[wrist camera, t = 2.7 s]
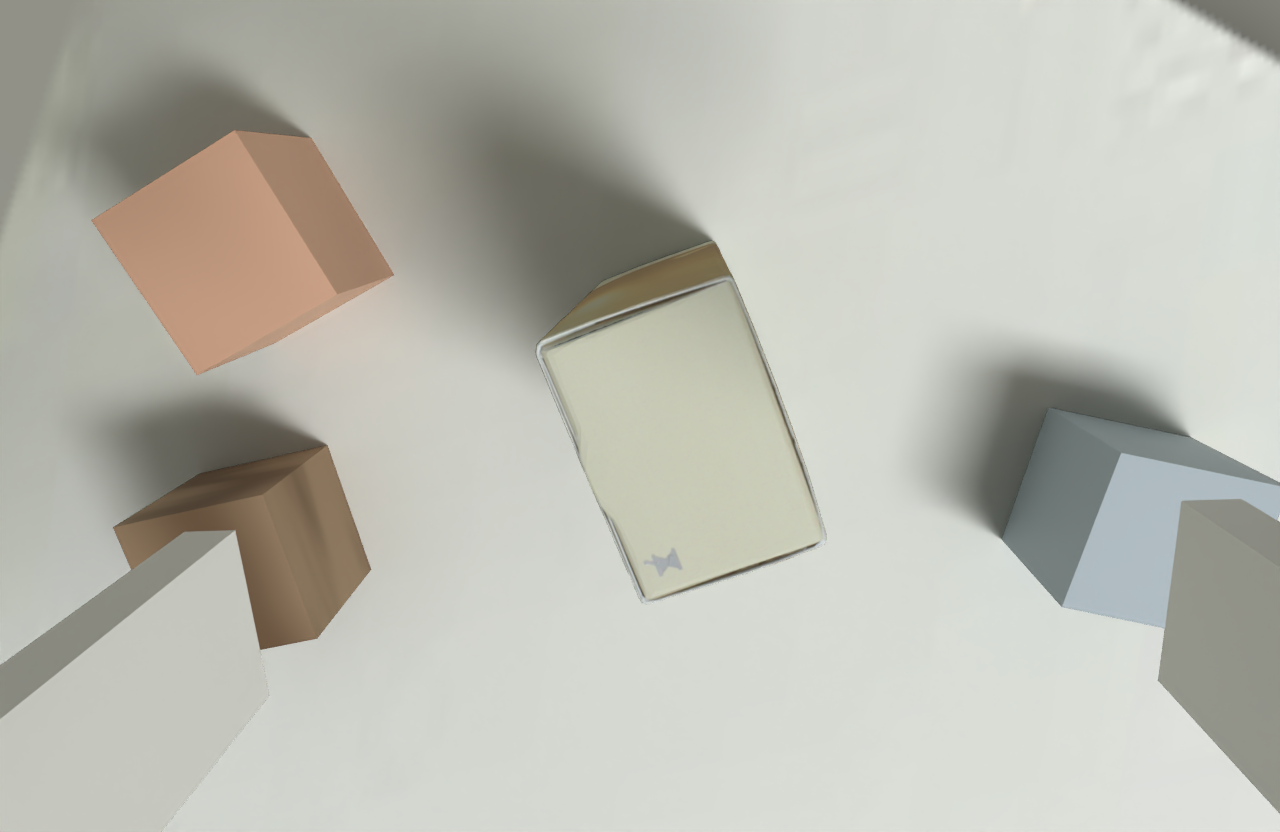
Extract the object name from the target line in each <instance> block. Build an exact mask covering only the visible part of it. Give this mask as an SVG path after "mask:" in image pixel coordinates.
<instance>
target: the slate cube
mask: <svg viewBox="0 0 1280 832" xmlns="http://www.w3.org/2000/svg"><path fill="white" fill-rule="evenodd" d="M1222 499H1242V500H1244V501H1246V502H1247V503H1249V504H1251V505H1252V506H1254V507H1256V508H1257V509H1259V510H1261V511H1262V512H1264V513H1266V514H1267V515H1269V516H1271V517H1272V518H1274V519H1276V520H1277V519H1278V517H1279V514H1280V483H1279V482H1277V481H1275V480H1273V479H1271V478H1270V477H1268V476H1266V475H1264V474H1262V473H1260V472H1258V471H1256V470H1254V469H1252V468H1250V467H1248V466H1246V465H1244V464H1242V463H1240V462H1238V461H1236V460H1234V459H1232V458H1230V457H1228V456H1226V455H1224V454H1222V453H1221V452H1219V451H1217V450H1215V449H1213V448H1211V447H1209V446H1207V445H1205V444H1203V443H1201V442H1199V441H1197V440H1195V439H1193V438H1191V437H1187V436H1182V435H1177V434H1172V433H1168V432H1163V431H1158V430H1153V429H1149V428H1144V427H1139V426H1134V425H1130V424H1125V423H1120V422H1116V421H1111V420H1106V419H1101V418H1097V417H1092V416H1087V415H1082V414H1078V413H1073V412H1068V411H1063V410H1059V409H1054V408H1049V407H1048V410H1047V413H1046V416H1045V418H1044V421H1043V424H1042V427H1041V430H1040V433H1039V435H1038V438H1037V441H1036V444H1035V447H1034V450H1033V452H1032V455H1031V458H1030V461H1029V464H1028V466H1027V469H1026V472H1025V475H1024V478H1023V481H1022V483H1021V486H1020V489H1019V492H1018V495H1017V497H1016V500H1015V503H1014V506H1013V509H1012V512H1011V514H1010V517H1009V520H1008V523H1007V526H1006V528H1005V531H1004V534H1003V537H1002V540H1003V542H1004V543H1005V544H1006V545H1007V546H1008V547H1009V548H1010V549H1011V551H1012V552H1013V553H1014V554H1015V555H1016V556H1017V557H1018V558H1019V559H1020V561H1021V562H1022V563H1023V564H1024V565H1025V566H1026V567H1027V568H1028V570H1029V571H1030V572H1031V573H1032V574H1033V575H1034V576H1035V577H1036V579H1037V580H1038V581H1039V582H1040V583H1041V584H1042V585H1043V586H1044V588H1045V589H1046V590H1047V591H1048V592H1049V593H1050V594H1051V595H1052V597H1053V598H1054V599H1055V600H1056V601H1057V602H1058V603H1059V604H1060V605H1061V607H1064V608H1069V609H1074V610H1079V611H1083V612H1088V613H1093V614H1098V615H1103V616H1108V617H1112V618H1117V619H1122V620H1127V621H1132V622H1137V623H1141V624H1146V625H1151V626H1156V627H1161V628H1165V623H1166V615H1167V608H1168V600H1169V593H1170V585H1171V577H1172V570H1173V562H1174V554H1175V547H1176V539H1177V531H1178V524H1179V516H1180V509H1181V501H1190V500H1222Z"/></svg>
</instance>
